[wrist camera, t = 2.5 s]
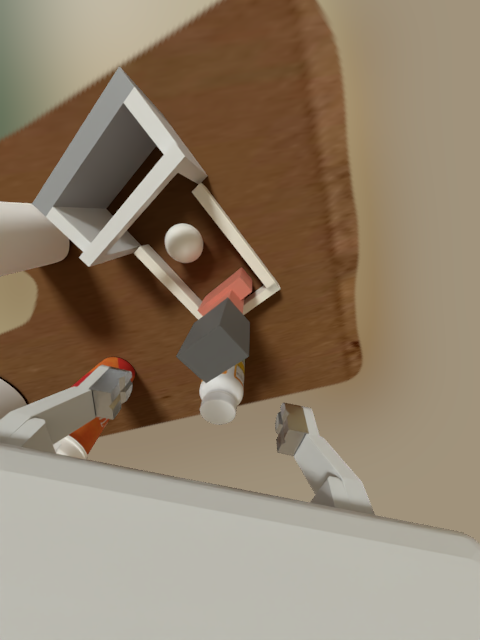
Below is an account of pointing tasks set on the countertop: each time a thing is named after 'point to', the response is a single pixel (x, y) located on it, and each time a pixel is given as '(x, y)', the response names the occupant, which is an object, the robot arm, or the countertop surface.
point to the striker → (219, 330)
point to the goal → (113, 171)
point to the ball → (184, 243)
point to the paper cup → (87, 435)
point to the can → (28, 239)
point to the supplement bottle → (222, 395)
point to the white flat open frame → (238, 241)
